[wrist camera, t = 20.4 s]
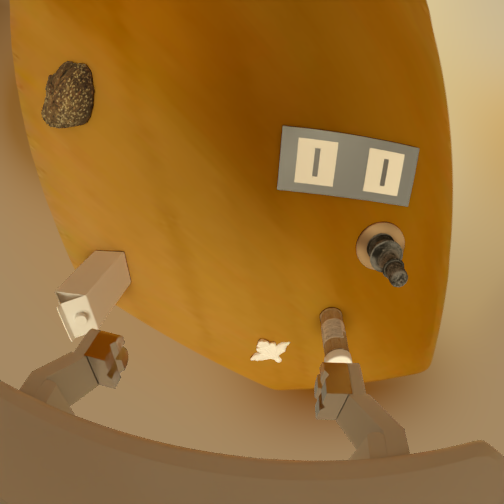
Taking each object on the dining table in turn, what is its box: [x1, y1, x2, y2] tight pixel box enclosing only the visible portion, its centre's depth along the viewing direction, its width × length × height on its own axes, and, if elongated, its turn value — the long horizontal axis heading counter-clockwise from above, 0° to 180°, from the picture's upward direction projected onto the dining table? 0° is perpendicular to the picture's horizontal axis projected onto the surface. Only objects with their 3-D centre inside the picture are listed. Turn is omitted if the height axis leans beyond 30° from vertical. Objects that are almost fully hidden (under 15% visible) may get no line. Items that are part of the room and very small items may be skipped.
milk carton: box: [55, 251, 131, 342], centre depth 50 cm, size 7×7×19 cm
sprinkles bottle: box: [320, 308, 352, 363], centre depth 53 cm, size 5×5×13 cm
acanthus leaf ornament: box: [250, 339, 290, 362], centre depth 64 cm, size 8×7×2 cm
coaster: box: [356, 222, 405, 270], centre depth 50 cm, size 9×9×1 cm
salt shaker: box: [367, 233, 408, 287], centre depth 45 cm, size 6×6×12 cm
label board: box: [277, 126, 419, 207], centre depth 45 cm, size 10×22×1 cm, turn 86°
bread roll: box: [42, 61, 94, 128], centre depth 40 cm, size 13×12×5 cm
